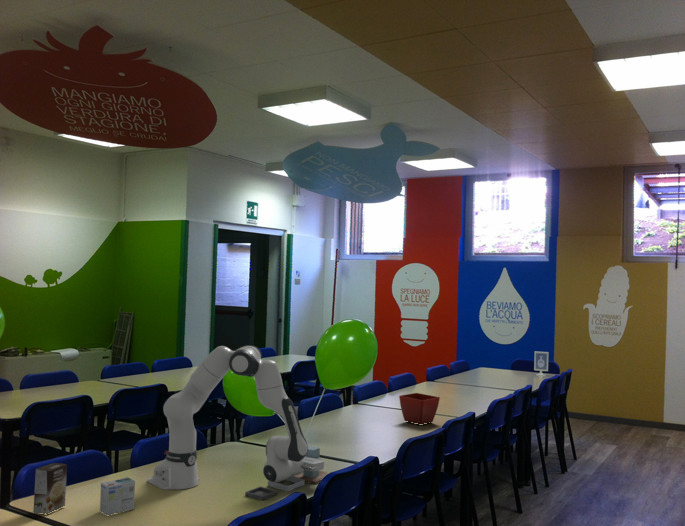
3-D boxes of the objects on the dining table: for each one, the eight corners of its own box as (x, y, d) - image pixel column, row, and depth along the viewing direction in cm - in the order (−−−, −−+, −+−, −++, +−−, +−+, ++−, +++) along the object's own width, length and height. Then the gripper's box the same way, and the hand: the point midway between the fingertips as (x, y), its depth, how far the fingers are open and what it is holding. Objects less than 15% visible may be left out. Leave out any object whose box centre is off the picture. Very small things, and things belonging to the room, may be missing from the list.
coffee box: (47, 516, 220) (49, 470, 220) (32, 513, 222) (34, 468, 222) (65, 507, 229) (67, 464, 229) (51, 505, 230) (53, 462, 231)
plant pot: (439, 423, 391) (440, 396, 392) (422, 427, 377) (422, 400, 378) (415, 418, 404) (416, 392, 405) (397, 422, 390) (398, 395, 391)
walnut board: (290, 477, 272) (290, 475, 272) (309, 470, 283) (309, 468, 283) (315, 484, 264) (315, 481, 264) (334, 476, 275) (334, 474, 275)
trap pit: (245, 495, 247) (245, 492, 247) (260, 490, 254) (260, 486, 254) (262, 500, 242) (262, 496, 242) (276, 494, 249) (277, 490, 249)
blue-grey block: (303, 475, 272) (304, 448, 273) (310, 473, 276) (310, 446, 277) (312, 477, 269) (313, 450, 270) (318, 475, 273) (319, 448, 274)
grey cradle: (267, 485, 260) (268, 481, 260) (284, 479, 269) (284, 474, 269) (288, 491, 254) (288, 486, 254) (304, 484, 263) (304, 479, 263)
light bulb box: (126, 505, 233) (127, 476, 233) (134, 510, 228) (136, 480, 229) (98, 511, 225) (100, 482, 226) (106, 517, 221) (107, 486, 221)
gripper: (313, 462, 257) (332, 455, 268) (275, 453, 268) (295, 447, 280) (312, 477, 256) (331, 469, 268) (275, 467, 268) (294, 461, 279)
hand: (312, 458), depth 274 cm, fingers open, 6 cm apart
